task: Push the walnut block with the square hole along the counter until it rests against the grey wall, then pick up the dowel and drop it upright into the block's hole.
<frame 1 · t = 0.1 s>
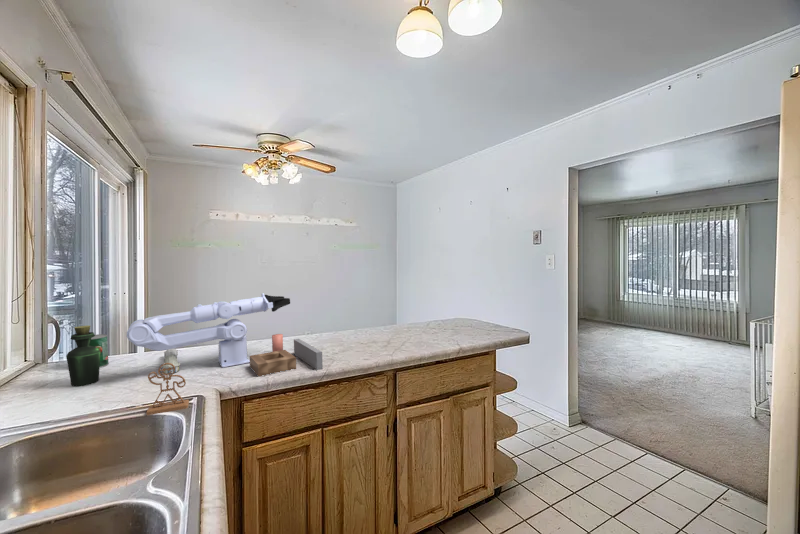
hand: (286, 300, 139), 22 cm above the countertop, tool horizontal, fingers open, 7 cm apart
potion bottle: (85, 383, 111), on the countertop
dowel: (277, 355, 138), on the countertop
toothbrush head: (171, 366, 128), on the countertop
block: (272, 367, 122), on the countertop
gingerbread man figurine: (168, 409, 91), on the countertop
canned tomato: (94, 366, 128), on the countertop
wall: (307, 361, 130), on the countertop
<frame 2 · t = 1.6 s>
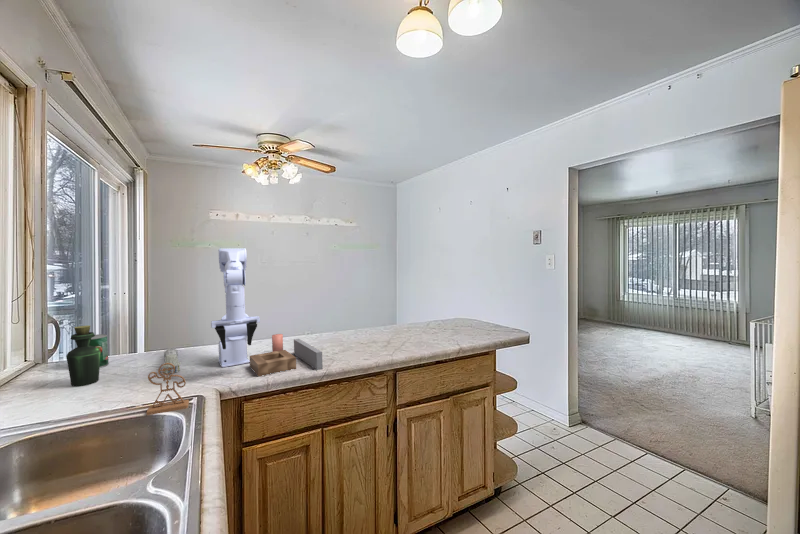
hand: (236, 346, 116), 9 cm above the countertop, tool pointing down, fingers open, 7 cm apart
nothing on the countertop moved.
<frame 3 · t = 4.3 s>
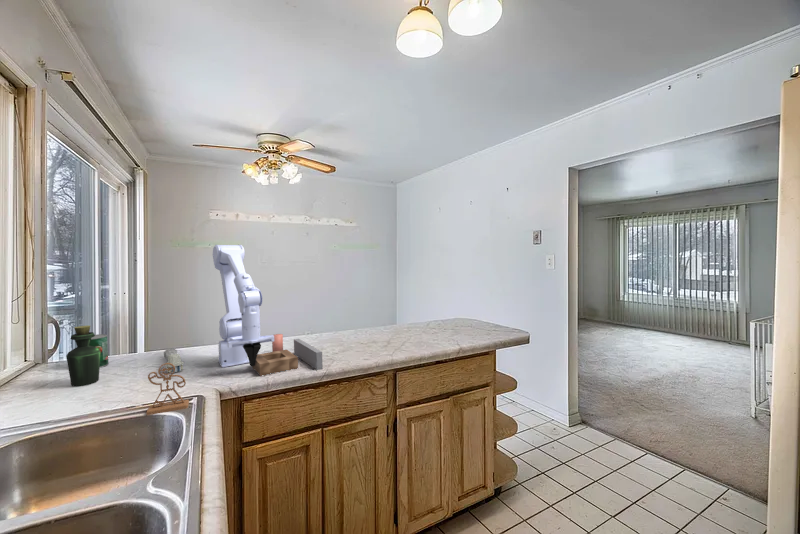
hand: (252, 365, 118), 2 cm above the countertop, tool pointing down, fingers closed
block: (274, 367, 123), on the countertop, touching gripper
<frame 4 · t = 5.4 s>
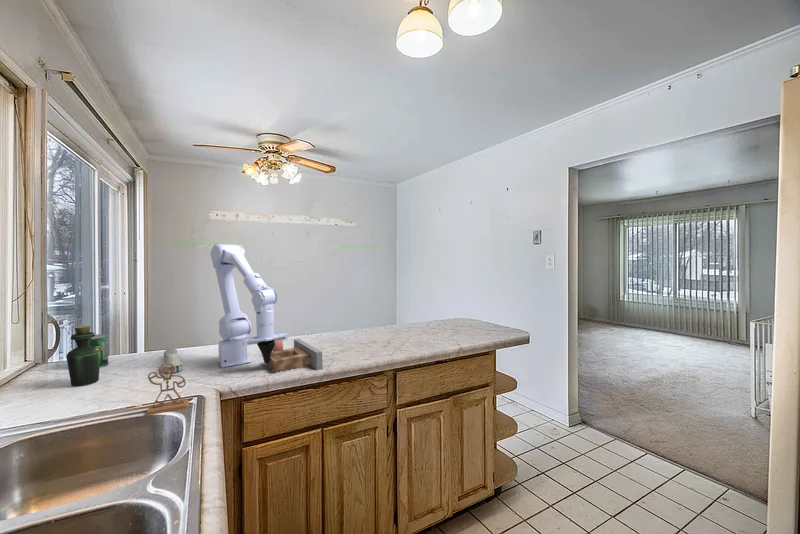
hand: (266, 362, 121), 2 cm above the countertop, tool pointing down, fingers closed
block: (287, 364, 125), on the countertop, touching gripper, wall
everything else where it was.
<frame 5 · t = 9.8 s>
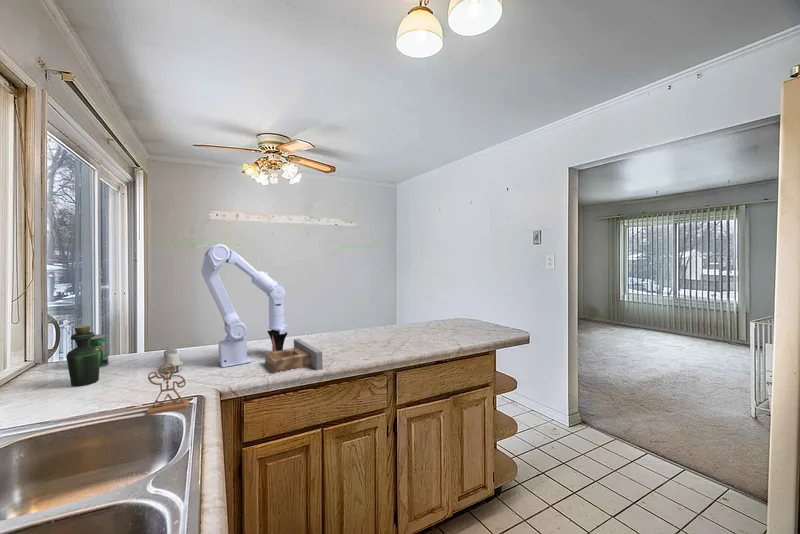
hand: (277, 349, 138), 2 cm above the countertop, tool pointing down, fingers closed on dowel, 4 cm apart
dowel: (277, 355, 138), on the countertop, touching gripper
block: (287, 364, 125), on the countertop
everything else where it was.
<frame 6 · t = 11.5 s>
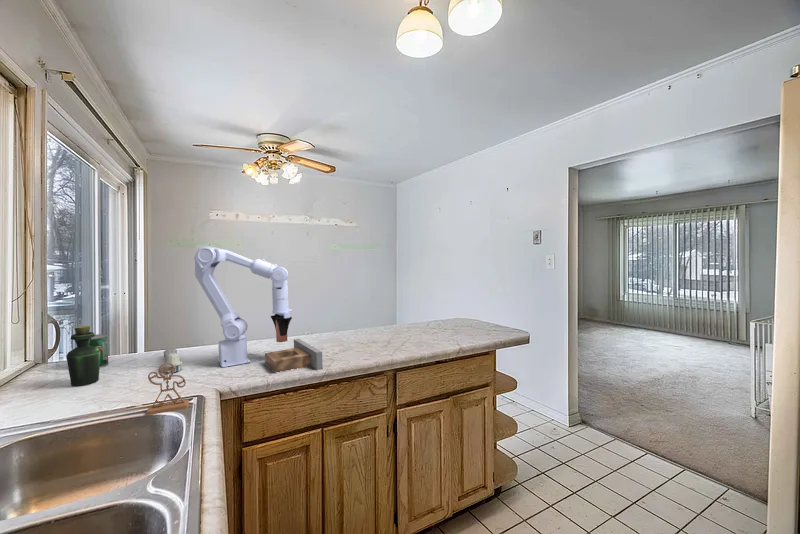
hand: (281, 334, 132), 9 cm above the countertop, tool pointing down, fingers closed on dowel, 4 cm apart
dowel: (281, 340, 132), point 7 cm above the countertop, touching gripper
everything else where it was.
when the fingers open (4 cm above the countertop, at t = 13.4 s): dowel drops 2 cm, resting in block.
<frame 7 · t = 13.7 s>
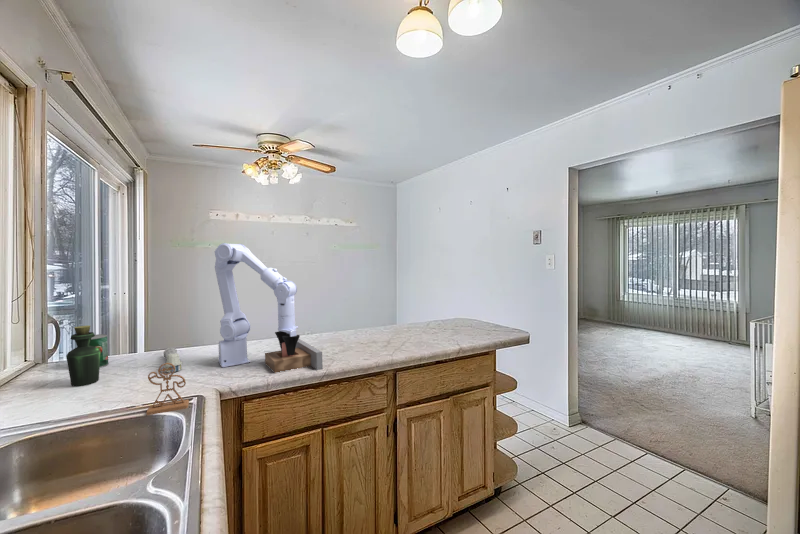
hand: (287, 352, 125), 4 cm above the countertop, tool pointing down, fingers open, 7 cm apart
dowel: (288, 364, 126), resting in block
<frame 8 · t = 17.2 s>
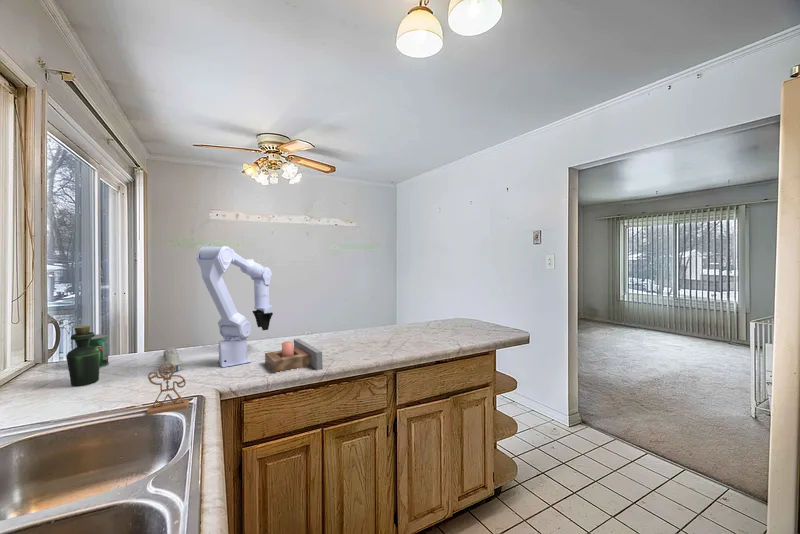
hand: (262, 328, 144), 9 cm above the countertop, tool pointing down, fingers open, 7 cm apart
at the end: block 0.0 cm from the target spot, on the countertop; dowel 0.2 cm off-centre on the block, point 0.0 cm above the block's base; dowel tilted 0° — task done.
